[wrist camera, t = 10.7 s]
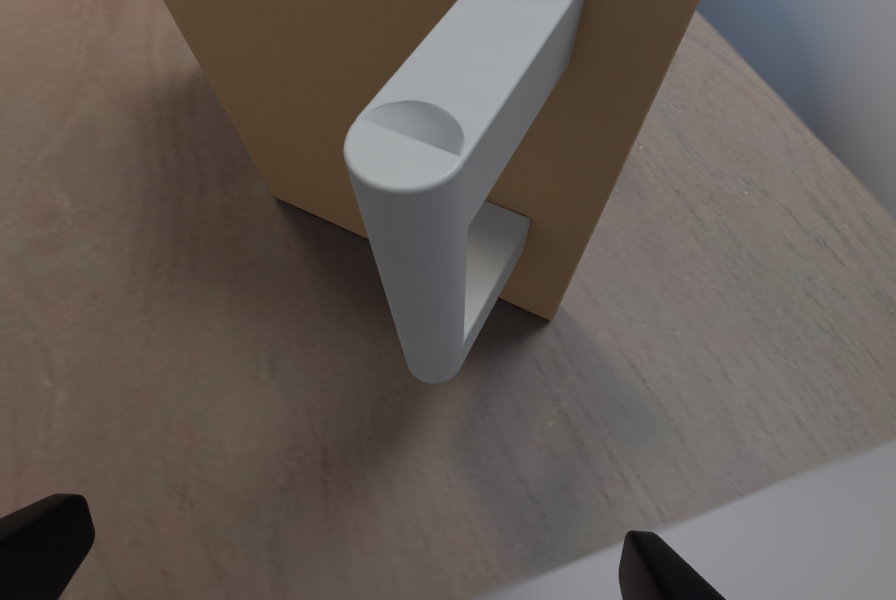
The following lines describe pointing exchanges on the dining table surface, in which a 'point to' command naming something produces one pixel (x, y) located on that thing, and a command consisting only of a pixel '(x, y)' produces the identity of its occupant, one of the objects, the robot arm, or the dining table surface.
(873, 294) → the dining table surface
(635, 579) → the robot arm
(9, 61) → the dining table surface
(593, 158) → the fridge door
